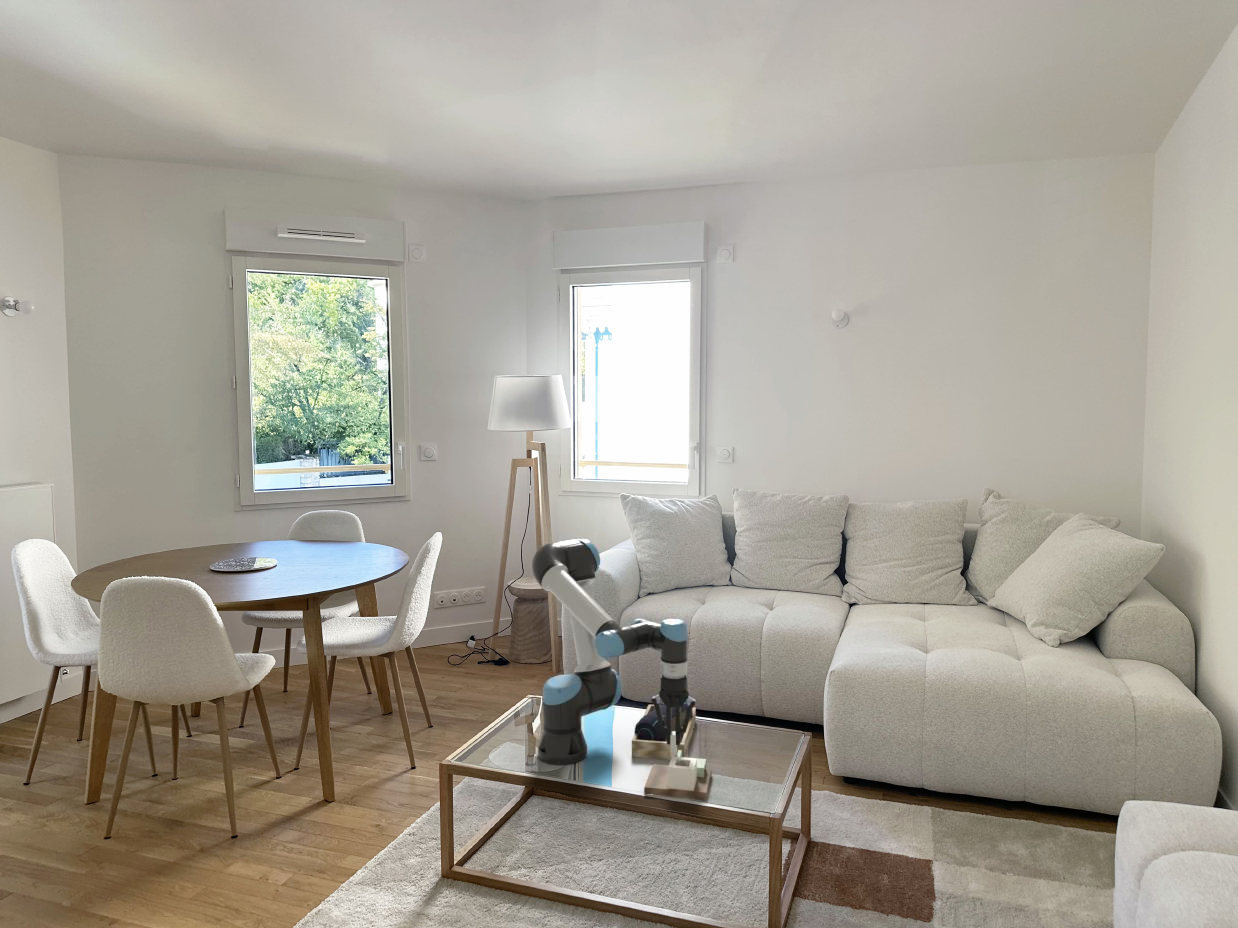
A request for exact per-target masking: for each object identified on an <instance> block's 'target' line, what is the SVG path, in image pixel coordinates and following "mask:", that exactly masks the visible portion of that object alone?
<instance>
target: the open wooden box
mask: <svg viewBox="0 0 1238 928" xmlns="http://www.w3.org/2000/svg"><path fill="white" fill-rule="evenodd" d="M696 709H697V708H696V707H695V706H694V707H693V708H692V711H693V717H692V718H691V719H689V723H688V727H687V730H686V733H683V737H682V738H681V742H680V745H677V753H678V750H682V757H686V756H687V752H688V749H689V745H690V742H691V740H692V737H693V733H694V730H693V728H694V729H695V726H694V724H695V725H696V723H695V721H696V722H697V720H696V719H697V717H696V716H697V711H696ZM653 710H655V706H654V705H653V704H648V705H647V707H646V709H645V711H644V714H643V716H645V715H647V714H648V713H650V712H652V711H653ZM695 718H696V719H695ZM692 732H693V733H692ZM676 756H677V754H676ZM631 757H633V758H646V759H647V758H648V759H656V760H659V759H660V760H670V761H671V758H672V757H670V745H669V744H667V741H665V742H662V741H649V740H638V734H637V733H634V735H633V736H632V738H631Z"/></svg>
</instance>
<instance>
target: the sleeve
mask: <svg viewBox="0 0 1238 928" xmlns="http://www.w3.org/2000/svg"><path fill="white" fill-rule="evenodd" d="M695 758H696V757H686V758H683V757H672V758H671V760H670V762H669V764H668V765H669V766H668V789H679V790H690V791H694V788H695V784H696V781H697V759H695ZM680 761H684V762H686V766H679V762H680Z"/></svg>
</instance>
